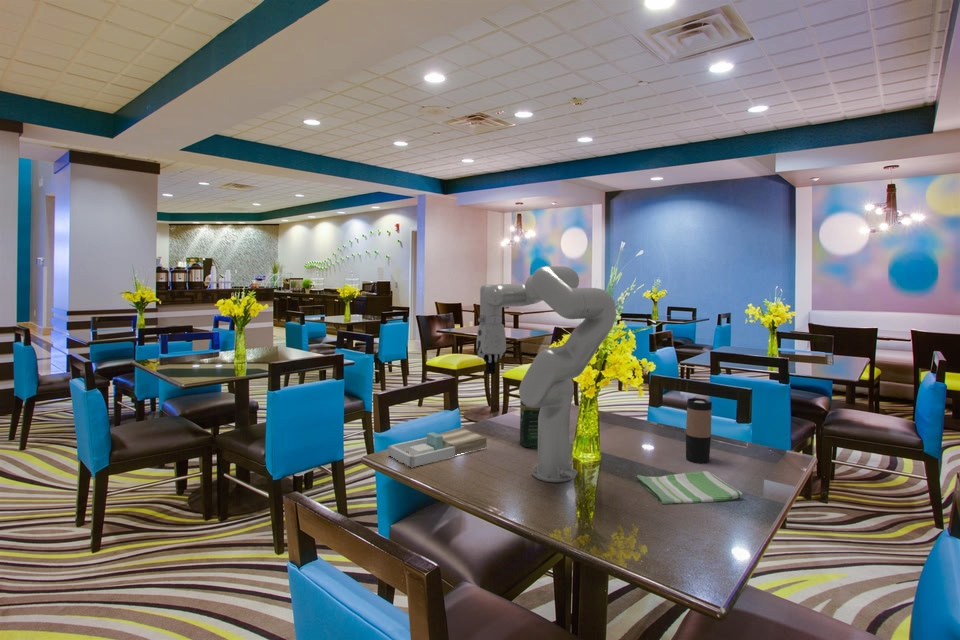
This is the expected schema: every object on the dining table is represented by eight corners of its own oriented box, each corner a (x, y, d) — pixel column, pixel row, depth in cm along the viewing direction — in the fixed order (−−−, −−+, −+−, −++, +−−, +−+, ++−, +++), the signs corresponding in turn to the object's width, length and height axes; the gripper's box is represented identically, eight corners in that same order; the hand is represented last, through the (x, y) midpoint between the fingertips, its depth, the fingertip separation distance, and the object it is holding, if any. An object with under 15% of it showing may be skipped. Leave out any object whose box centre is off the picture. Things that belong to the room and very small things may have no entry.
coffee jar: (544, 448, 185) (545, 396, 183) (522, 448, 184) (523, 397, 183) (539, 440, 194) (539, 390, 193) (518, 440, 194) (518, 391, 192)
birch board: (486, 448, 184) (486, 437, 184) (454, 456, 175) (454, 445, 175) (462, 439, 195) (462, 428, 195) (431, 446, 186) (431, 435, 186)
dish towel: (634, 481, 156) (635, 472, 156) (709, 478, 158) (709, 469, 158) (662, 506, 138) (662, 496, 138) (744, 503, 141) (745, 493, 141)
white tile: (418, 451, 171) (418, 458, 172) (433, 447, 175) (434, 455, 175) (409, 446, 176) (409, 454, 176) (424, 443, 180) (424, 450, 180)
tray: (455, 457, 175) (455, 447, 175) (411, 468, 164) (411, 457, 164) (430, 446, 186) (430, 436, 186) (388, 455, 176) (388, 445, 176)
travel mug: (683, 461, 172) (685, 401, 170) (686, 454, 178) (688, 397, 177) (709, 465, 168) (711, 404, 167) (710, 458, 175) (713, 399, 173)
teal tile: (442, 436, 177) (436, 437, 175) (442, 453, 177) (436, 454, 176) (432, 432, 181) (426, 433, 180) (433, 449, 182) (426, 450, 180)
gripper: (480, 322, 172) (480, 377, 173) (514, 320, 181) (513, 372, 182) (466, 321, 177) (466, 374, 179) (500, 319, 187) (499, 370, 188)
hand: (490, 373), depth 180 cm, fingers closed
